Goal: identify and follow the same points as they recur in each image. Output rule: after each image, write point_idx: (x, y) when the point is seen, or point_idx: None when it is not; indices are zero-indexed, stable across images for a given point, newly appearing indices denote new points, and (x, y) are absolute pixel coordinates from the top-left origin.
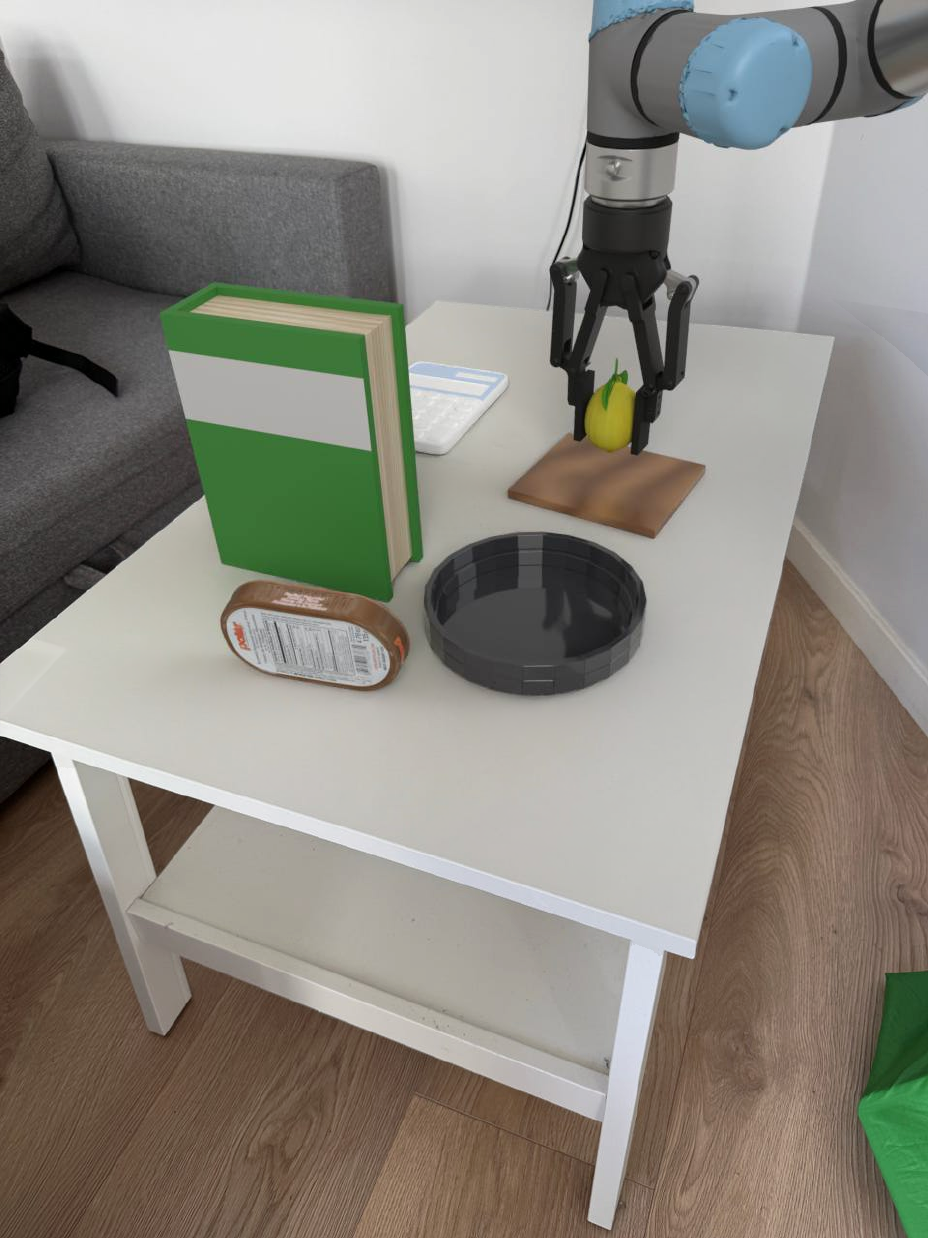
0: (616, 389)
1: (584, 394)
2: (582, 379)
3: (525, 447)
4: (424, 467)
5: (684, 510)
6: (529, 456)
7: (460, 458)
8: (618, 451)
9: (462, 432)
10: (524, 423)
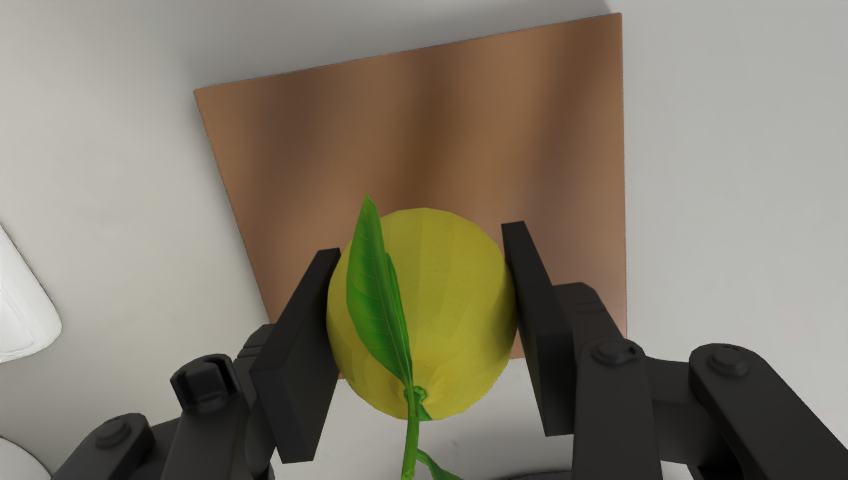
0: (441, 404)
1: (323, 399)
2: (301, 452)
3: (155, 186)
4: (82, 375)
5: (633, 209)
6: (197, 216)
7: (98, 310)
8: (371, 99)
9: (6, 252)
10: (41, 76)
